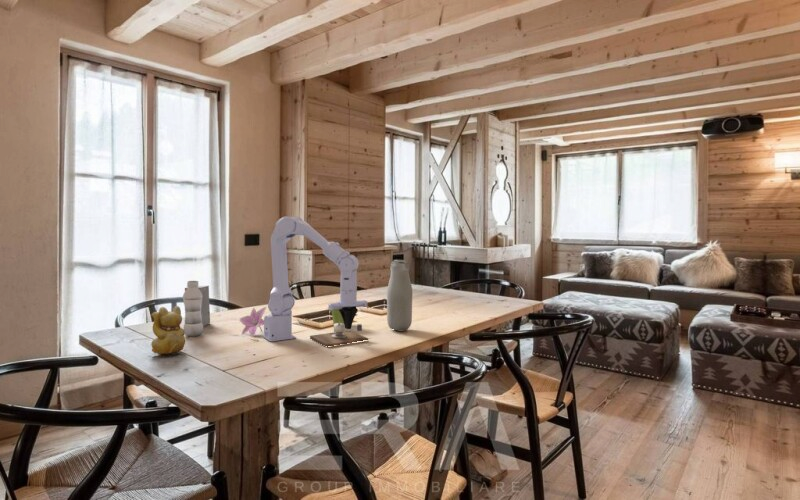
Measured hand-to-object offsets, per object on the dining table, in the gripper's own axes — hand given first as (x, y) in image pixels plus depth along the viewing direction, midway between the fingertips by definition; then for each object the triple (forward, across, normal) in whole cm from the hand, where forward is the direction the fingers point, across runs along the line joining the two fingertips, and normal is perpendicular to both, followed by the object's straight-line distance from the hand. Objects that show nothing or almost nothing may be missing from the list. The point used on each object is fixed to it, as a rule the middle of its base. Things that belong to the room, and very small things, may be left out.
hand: (347, 328), depth 163 cm
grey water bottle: (+5, +26, +5) cm, 27 cm away
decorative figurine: (+5, -54, +16) cm, 57 cm away
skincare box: (+6, -38, +54) cm, 66 cm away
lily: (+5, -24, +29) cm, 38 cm away
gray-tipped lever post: (+2, +1, +3) cm, 3 cm away
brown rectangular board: (+5, -1, +4) cm, 6 cm away
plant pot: (+5, +9, +21) cm, 23 cm away
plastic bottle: (+5, -43, +37) cm, 57 cm away
